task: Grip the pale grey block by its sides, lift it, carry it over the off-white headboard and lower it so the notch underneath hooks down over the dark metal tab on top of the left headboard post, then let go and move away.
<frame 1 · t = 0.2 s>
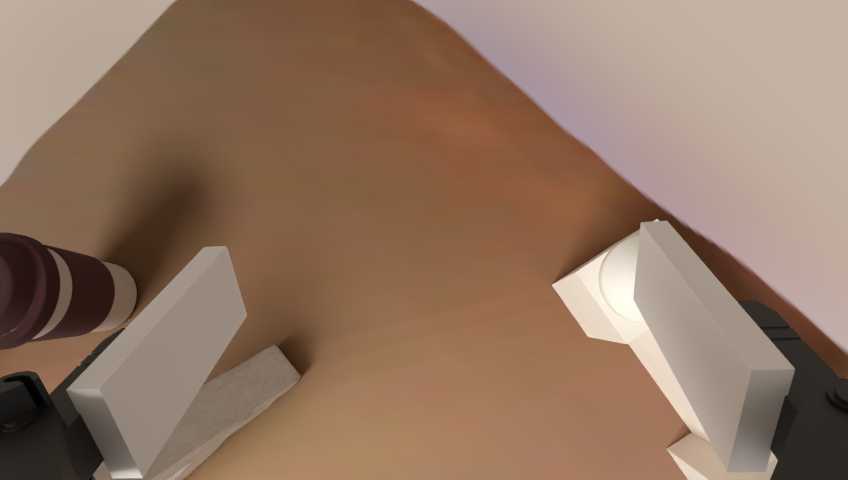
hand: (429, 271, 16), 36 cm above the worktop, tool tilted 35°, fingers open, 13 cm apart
headboard: (657, 371, 48), on the worktop
coffee cup: (109, 297, 56), on the worktop
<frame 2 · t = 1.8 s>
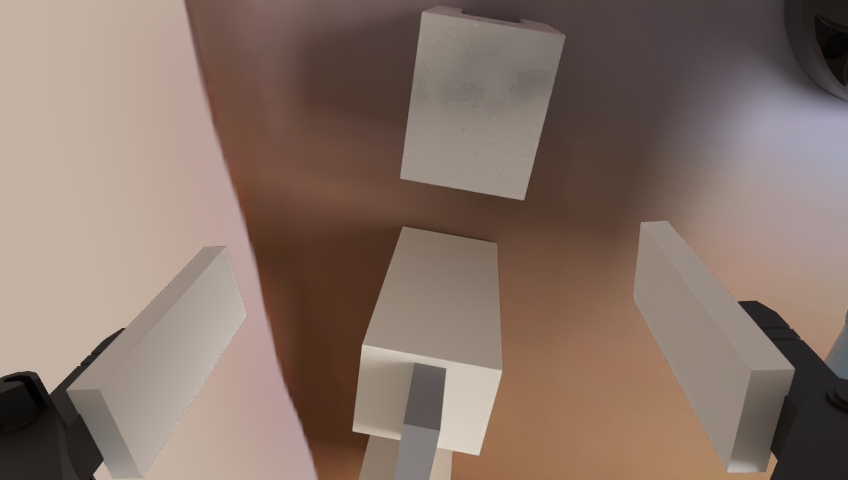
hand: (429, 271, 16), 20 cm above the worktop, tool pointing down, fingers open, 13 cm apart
headboard: (425, 361, 43), on the worktop
pale grey block: (478, 81, 33), on the worktop
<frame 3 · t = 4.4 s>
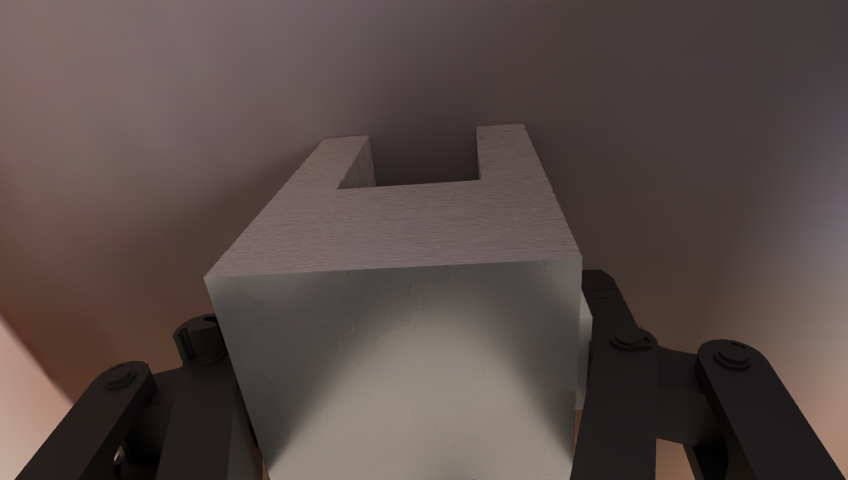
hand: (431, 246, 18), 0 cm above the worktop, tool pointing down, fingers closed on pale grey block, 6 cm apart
pale grey block: (432, 240, 18), on the worktop, touching gripper
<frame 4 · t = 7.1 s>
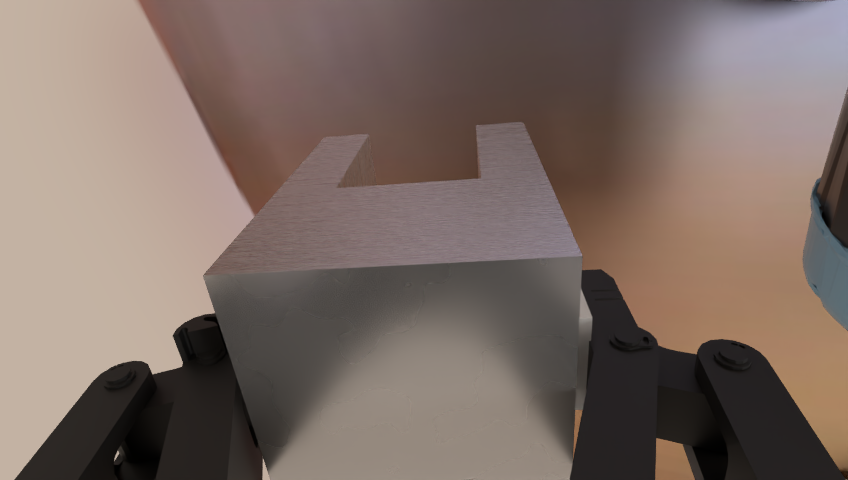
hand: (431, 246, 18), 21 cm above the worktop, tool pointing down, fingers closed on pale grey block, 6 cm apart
pale grey block: (432, 239, 18), point 21 cm above the worktop, touching gripper
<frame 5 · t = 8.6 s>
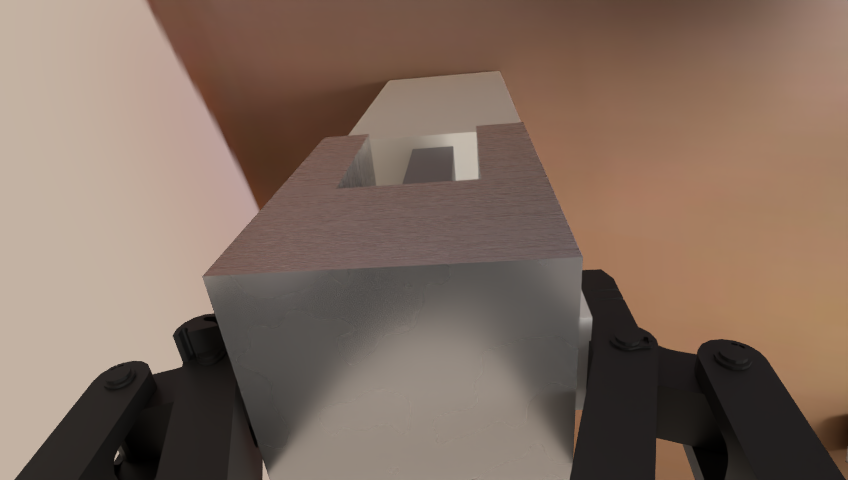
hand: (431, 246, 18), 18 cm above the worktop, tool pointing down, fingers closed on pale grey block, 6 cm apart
headboard: (456, 244, 38), on the worktop
pale grey block: (432, 239, 18), point 17 cm above the worktop, touching gripper
when the fingers open (16 cm above the worktop, at t = 9.7 s): pale grey block drops 1 cm, resting on headboard.
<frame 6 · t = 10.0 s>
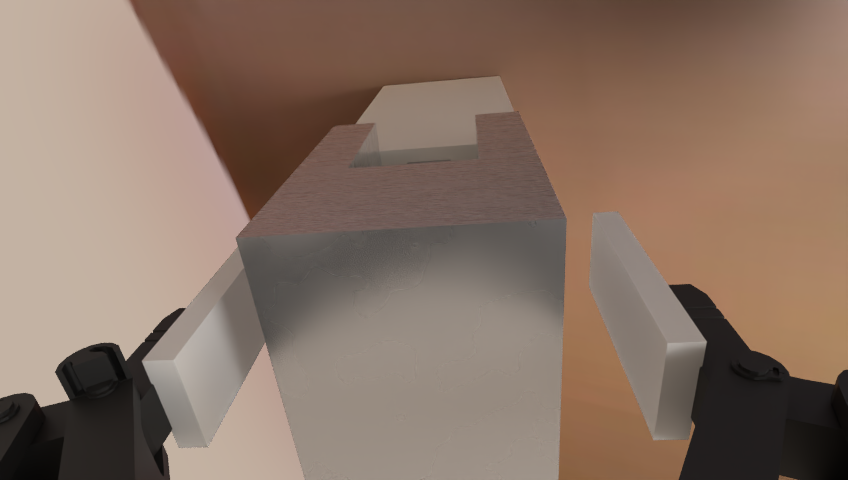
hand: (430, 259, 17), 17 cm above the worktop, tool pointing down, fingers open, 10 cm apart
headboard: (454, 255, 36), on the worktop
pale grey block: (434, 222, 20), point 14 cm above the worktop, touching headboard
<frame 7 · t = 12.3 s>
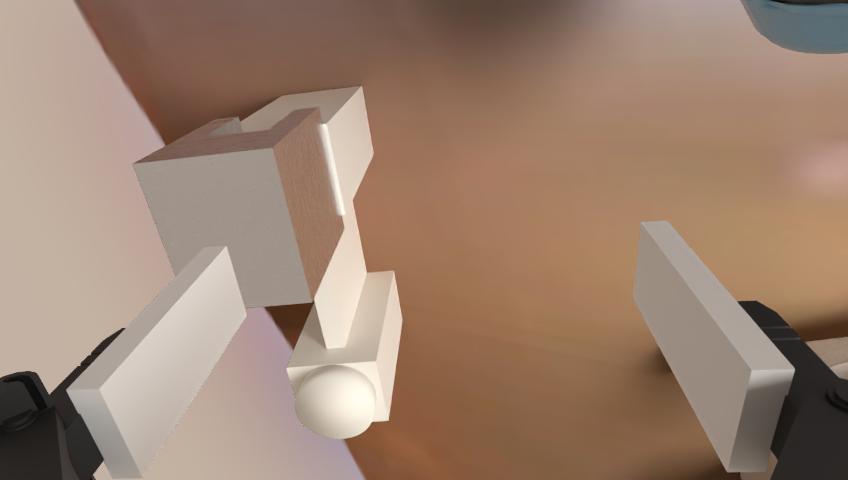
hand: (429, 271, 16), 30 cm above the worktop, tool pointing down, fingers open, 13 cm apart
headboard: (348, 218, 49), on the worktop
pale grey block: (282, 176, 32), point 14 cm above the worktop, touching headboard
coffee cup: (769, 466, 61), on the worktop
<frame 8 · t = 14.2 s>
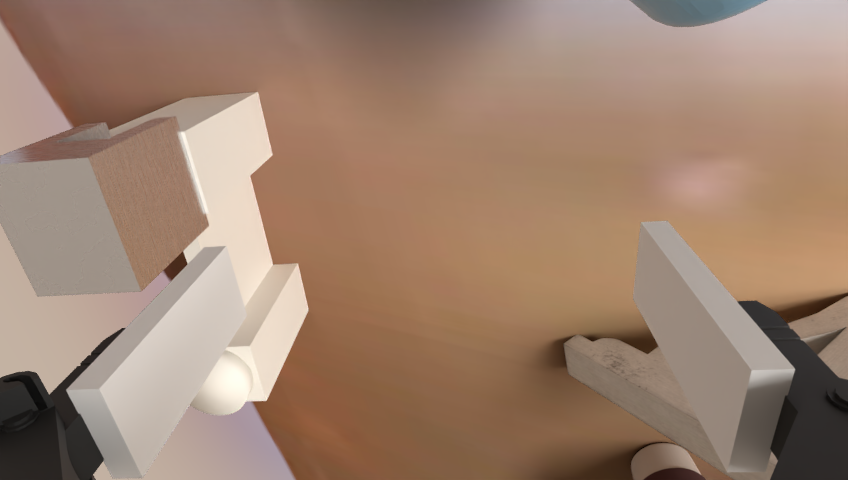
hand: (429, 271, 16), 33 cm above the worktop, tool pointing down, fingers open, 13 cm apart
headboard: (252, 214, 53), on the worktop
letter a: (738, 323, 55), on the worktop
pale grey block: (149, 176, 36), point 14 cm above the worktop, touching headboard
coffee cup: (658, 460, 65), on the worktop
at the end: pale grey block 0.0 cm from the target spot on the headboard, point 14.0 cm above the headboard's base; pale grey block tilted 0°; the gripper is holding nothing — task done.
